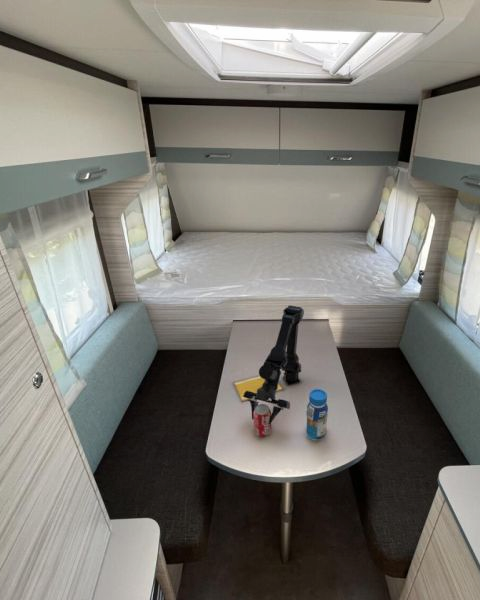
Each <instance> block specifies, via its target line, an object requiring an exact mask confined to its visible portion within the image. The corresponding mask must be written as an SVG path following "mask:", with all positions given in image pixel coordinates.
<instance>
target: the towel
mask: <svg viewBox="0 0 480 600" xmlns="http://www.w3.org/2000/svg"><path fill="white" fill-rule="evenodd" d="M264 381H265V379H263V378H261V377H260V375H258V376H254V377H250V378H247V379H243V380H239V381H235V382H234V383H233V384H234V386H235V388H236V391H237V392H238V395H239V397H240V400H241V401H242V402H245V401H248V398H245V397H243V395H244V393H245V391H250V392H254V393H257V389H258V388H260V387H262V385H263V383H264ZM277 387H278V389H277V390H276V392H279V391H283V387H282V385H281V384H280V383H279V382H278V386H277Z"/></svg>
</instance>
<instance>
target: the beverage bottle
mask: <svg viewBox="0 0 480 600" xmlns="http://www.w3.org/2000/svg"><path fill="white" fill-rule="evenodd" d="M308 401H309V402H308V403H307V405H306V429H305V434H306V436H307V437H308V438H309V439H311V440H313V441H321V440H324V439H325V438H326V435H327V425H328V424H327V423H328V417H329V406H328V404H327V401H328V393H327V392H326V391H325V390H324V389H321V388H315V389H312V390H310V392H309V395H308Z"/></svg>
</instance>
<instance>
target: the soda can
mask: <svg viewBox="0 0 480 600" xmlns="http://www.w3.org/2000/svg"><path fill="white" fill-rule="evenodd" d="M271 415H272V411H271V408H270V407H269V406H268V404H265V403H260V404H258V405H257V406H256V407H255V410H254V420H253V429H254V434H255V435H256V436H258V437H260V438H265V437H268V436H269V435H270V434H271V433H272V423H271V424H269V421H270V418H271Z"/></svg>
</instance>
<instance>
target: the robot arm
mask: <svg viewBox="0 0 480 600" xmlns="http://www.w3.org/2000/svg"><path fill="white" fill-rule="evenodd" d="M282 313H283V314H282V317H281V323H280V328H279V331H278V335H277V338H276V342H275V345H274V346H273V347H272V348H271V349H270V352H269V354H268V355H267V357H266V359H265V360H264V362H263V364H262V365H261V366H260V367H259V369H258V376H260V377H261V378H263V379H265V381H264V383H263V385H262V387H260V388H258V389H257V393H254V392H250V391H245V393H244V395H243V397H245V398H248V400H247V402H249V403H250V407H251V420H253V421H254V410H255V407H256V406H257V405H259V403H260V402H259V401H261V402H265V403H269V404H273V406H272V411H271V418H270V421H269V424H271V425H272V423H273V421H274V420H275V418H276V417H277V416H278V414H279V413H280V412H281V411H284V410H285V409H287V410H290V408H291V402H290V401H288V400H284V399H281V398H278V399H276V394H277V391H276V390H277V389H278V387H277V386H278V383H279V382H280V378H281V375H282V371H283V376H282V379H283V381H284V382H285V383H286V384H287V385H288V386H291V385H294V384H297V383H300V382H301V380H300V379H299V374H300V373H301V372H302V364H301V363H300V358H299V355H298V354H297V347H298V346H297V345H298V334H299V333H298V332H299V324H300V323H301V321H302V320H303V318H304V316H305V310H304V308H303V307H302V306H297V305H289V304H288V306H286V307H285V308H284V309H283V311H282Z"/></svg>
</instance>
